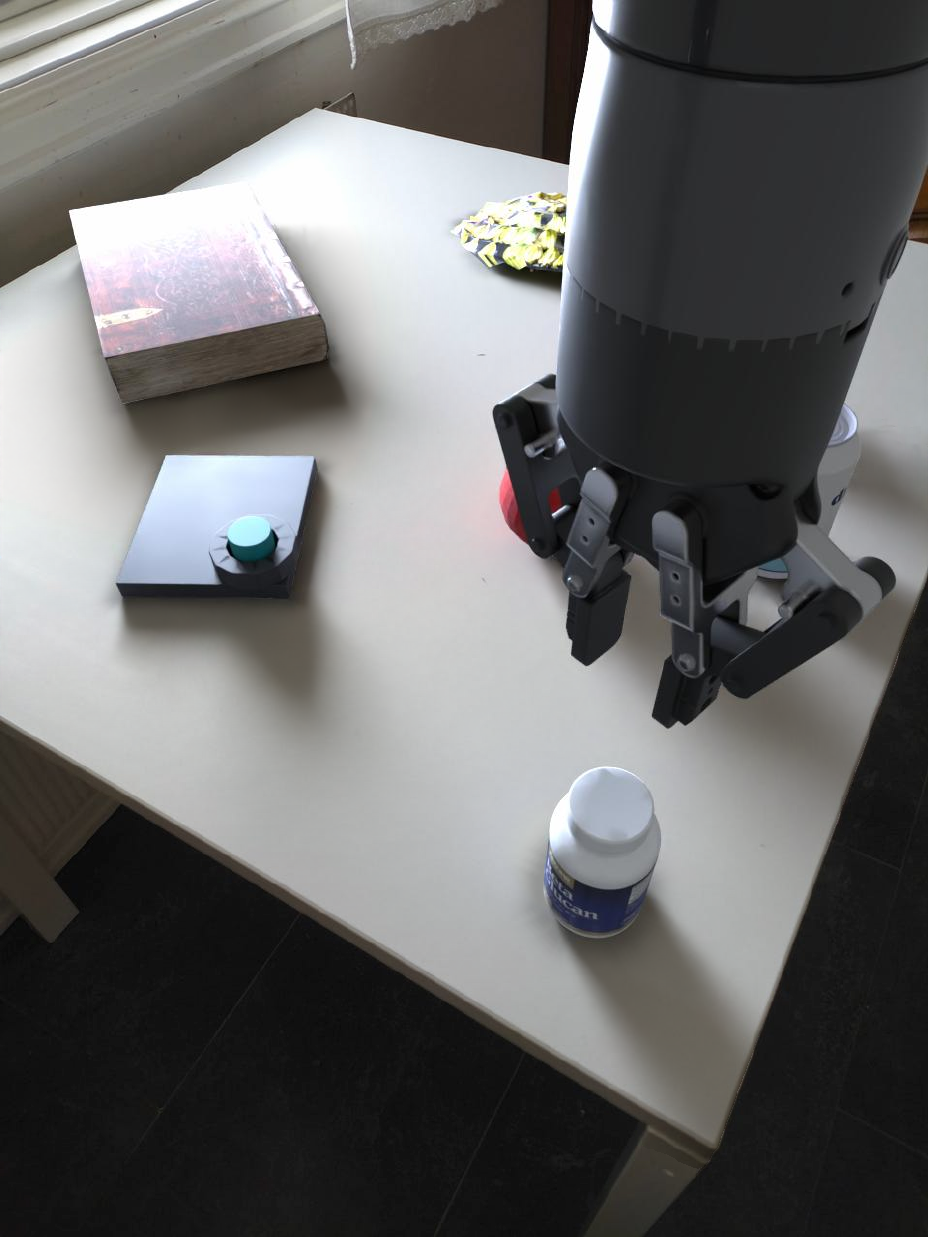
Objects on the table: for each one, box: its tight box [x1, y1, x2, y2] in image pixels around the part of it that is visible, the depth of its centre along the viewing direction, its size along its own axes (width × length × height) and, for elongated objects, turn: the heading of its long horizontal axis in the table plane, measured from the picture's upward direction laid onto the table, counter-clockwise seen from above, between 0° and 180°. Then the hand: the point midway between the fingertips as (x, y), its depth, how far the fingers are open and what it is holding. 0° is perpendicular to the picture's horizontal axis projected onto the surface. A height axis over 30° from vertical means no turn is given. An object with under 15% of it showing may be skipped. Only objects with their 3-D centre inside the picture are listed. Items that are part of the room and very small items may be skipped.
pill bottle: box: [543, 766, 662, 939], centre depth 45 cm, size 5×5×10 cm
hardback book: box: [68, 180, 330, 405], centre depth 87 cm, size 29×19×5 cm, turn 22°
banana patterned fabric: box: [450, 191, 568, 273], centre depth 94 cm, size 20×16×7 cm
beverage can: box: [757, 402, 862, 580], centre depth 61 cm, size 7×7×12 cm
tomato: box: [498, 468, 562, 545], centre depth 64 cm, size 9×9×8 cm
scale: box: [115, 454, 319, 600], centre depth 67 cm, size 14×12×3 cm
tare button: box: [227, 517, 275, 562], centre depth 62 cm, size 3×3×2 cm
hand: (635, 678), depth 34 cm, fingers open, 3 cm apart
